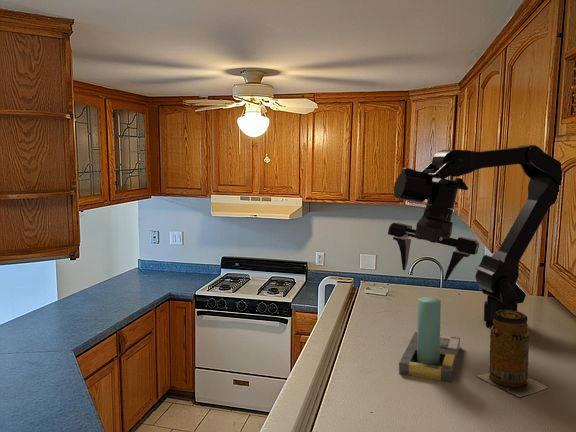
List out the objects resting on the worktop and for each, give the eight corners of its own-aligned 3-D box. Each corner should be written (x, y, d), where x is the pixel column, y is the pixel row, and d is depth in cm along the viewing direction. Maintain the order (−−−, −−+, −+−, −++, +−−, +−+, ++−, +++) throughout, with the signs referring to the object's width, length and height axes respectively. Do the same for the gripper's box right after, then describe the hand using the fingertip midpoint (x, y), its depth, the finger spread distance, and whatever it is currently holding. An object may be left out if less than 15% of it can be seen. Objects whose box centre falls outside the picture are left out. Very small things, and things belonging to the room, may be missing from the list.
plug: (436, 363, 87) (437, 297, 85) (441, 373, 83) (443, 304, 81) (415, 363, 87) (415, 297, 86) (419, 372, 83) (419, 303, 82)
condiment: (505, 368, 84) (507, 305, 83) (548, 388, 77) (551, 319, 75) (476, 377, 81) (478, 312, 80) (519, 399, 74) (521, 327, 72)
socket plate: (459, 347, 94) (460, 336, 94) (451, 382, 80) (451, 369, 79) (415, 340, 98) (415, 330, 97) (399, 373, 83) (399, 361, 83)
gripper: (388, 197, 97) (373, 268, 99) (480, 215, 89) (462, 293, 90) (401, 199, 107) (387, 263, 109) (486, 215, 99) (469, 285, 100)
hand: (424, 275), depth 102 cm, fingers open, 9 cm apart
